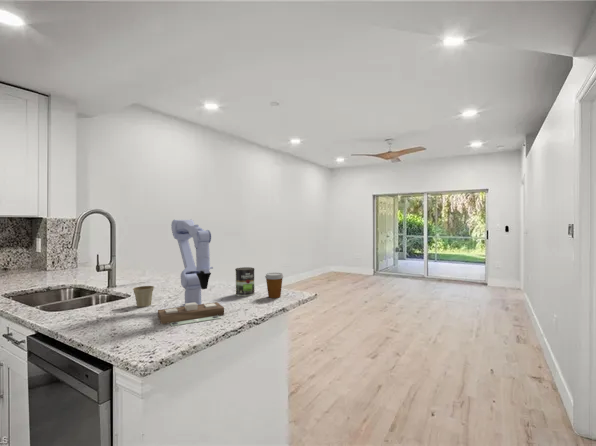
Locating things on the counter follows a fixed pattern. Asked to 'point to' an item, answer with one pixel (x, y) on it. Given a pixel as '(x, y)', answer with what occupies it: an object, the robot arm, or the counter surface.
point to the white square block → (210, 305)
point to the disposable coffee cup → (274, 284)
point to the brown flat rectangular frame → (190, 313)
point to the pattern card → (194, 320)
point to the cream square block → (171, 311)
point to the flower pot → (143, 295)
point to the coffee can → (245, 281)
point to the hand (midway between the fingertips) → (204, 288)
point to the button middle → (191, 306)
